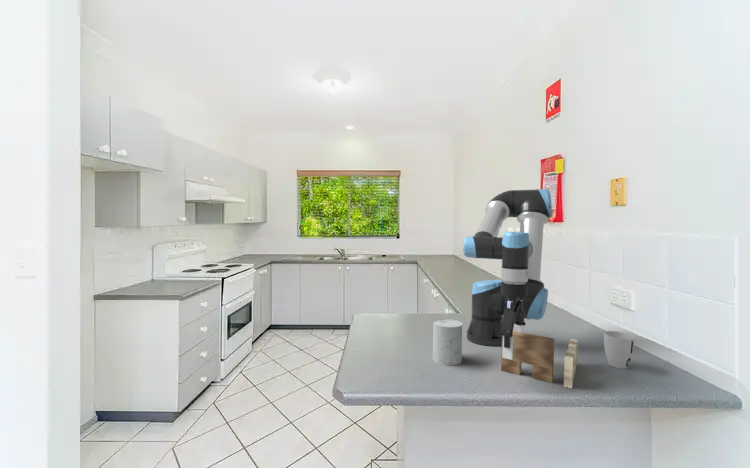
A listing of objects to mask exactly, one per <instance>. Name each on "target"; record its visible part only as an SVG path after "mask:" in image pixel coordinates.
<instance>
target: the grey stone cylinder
mask: <svg viewBox="0 0 750 468" xmlns="http://www.w3.org/2000/svg"><path fill="white" fill-rule="evenodd" d="M432 323H433V325H432V326H433V327H432V330H433V331H432V333H433V334H432V361H433V362H434V363H436V364H440V365H442V366H457V365H460V364H462V362H463V359H462V358H463V357H462V354H463V353H462V352H463V350H462V349H463V323H462V322H461V321H460V320H457V319H450V318H438V319H434V320H433V322H432Z"/></svg>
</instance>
